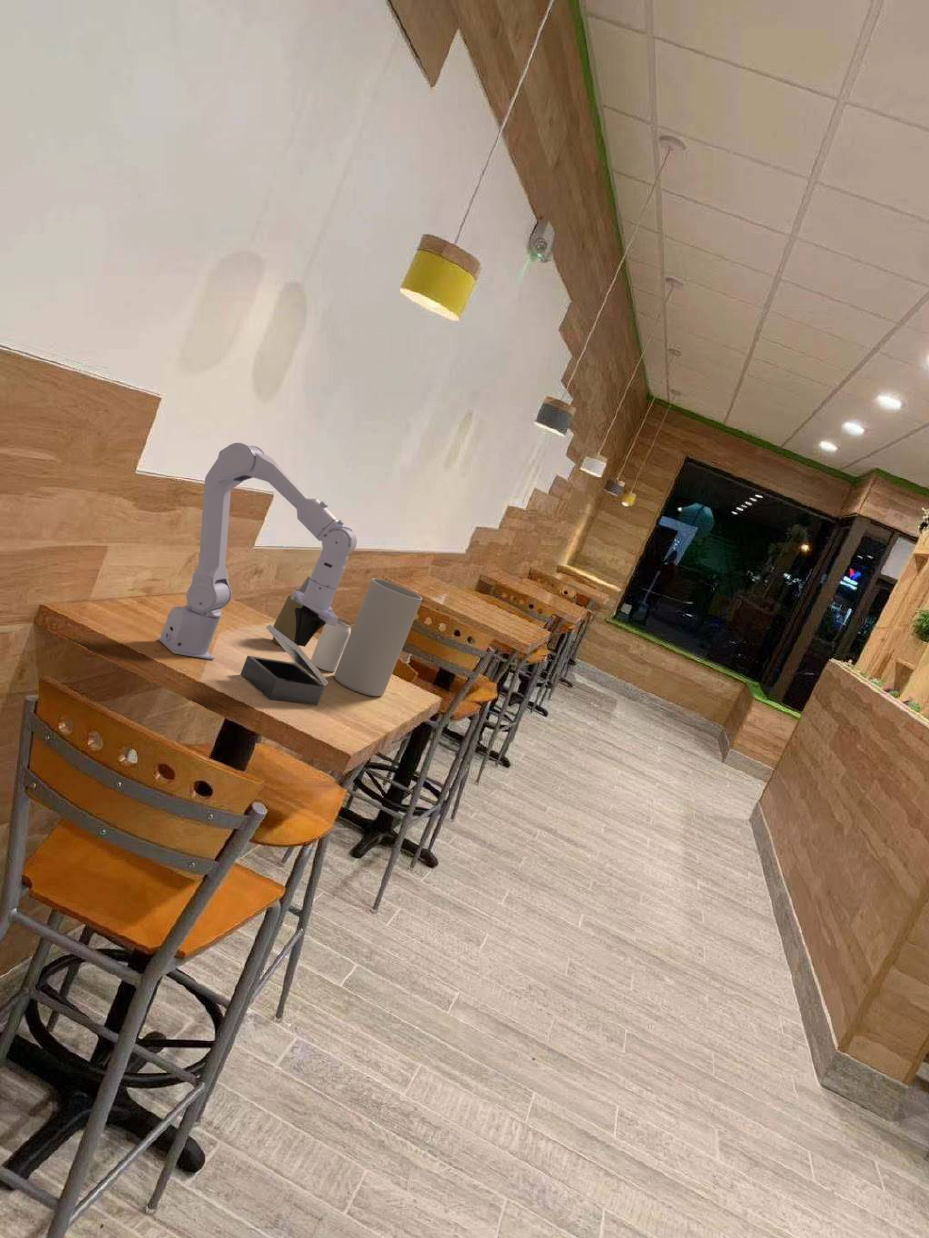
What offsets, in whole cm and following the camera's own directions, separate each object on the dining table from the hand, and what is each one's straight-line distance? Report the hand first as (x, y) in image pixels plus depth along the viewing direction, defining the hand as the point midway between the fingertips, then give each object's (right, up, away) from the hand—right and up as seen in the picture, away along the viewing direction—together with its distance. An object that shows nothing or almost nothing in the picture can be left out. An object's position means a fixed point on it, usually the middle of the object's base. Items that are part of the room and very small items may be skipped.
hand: (299, 644), depth 187 cm
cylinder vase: (+9, -11, +29) cm, 32 cm away
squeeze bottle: (-11, -1, +38) cm, 39 cm away
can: (0, -6, +32) cm, 33 cm away
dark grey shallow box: (-4, -9, +1) cm, 10 cm away
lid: (-1, -2, 0) cm, 3 cm away
